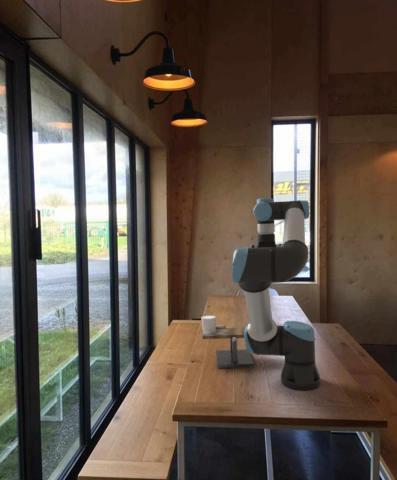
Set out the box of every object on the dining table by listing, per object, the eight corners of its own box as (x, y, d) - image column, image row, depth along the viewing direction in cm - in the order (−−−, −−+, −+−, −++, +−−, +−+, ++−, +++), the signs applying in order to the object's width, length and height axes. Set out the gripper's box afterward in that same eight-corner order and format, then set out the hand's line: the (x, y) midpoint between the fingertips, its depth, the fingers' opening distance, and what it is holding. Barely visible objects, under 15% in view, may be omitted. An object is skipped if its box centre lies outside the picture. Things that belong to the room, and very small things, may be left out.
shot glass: (207, 328, 185) (207, 314, 184) (219, 331, 181) (219, 316, 180) (198, 332, 180) (198, 317, 179) (210, 335, 175) (210, 319, 175)
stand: (249, 352, 190) (248, 325, 189) (254, 366, 172) (253, 337, 171) (216, 353, 190) (214, 327, 189) (217, 368, 172) (216, 339, 171)
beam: (261, 332, 185) (261, 323, 185) (265, 339, 174) (265, 329, 174) (202, 334, 186) (202, 324, 185) (202, 341, 175) (202, 331, 174)
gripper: (292, 231, 176) (293, 278, 178) (237, 234, 177) (238, 280, 178) (296, 232, 169) (297, 281, 170) (238, 235, 169) (240, 283, 171)
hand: (267, 281), depth 174 cm, fingers open, 13 cm apart
